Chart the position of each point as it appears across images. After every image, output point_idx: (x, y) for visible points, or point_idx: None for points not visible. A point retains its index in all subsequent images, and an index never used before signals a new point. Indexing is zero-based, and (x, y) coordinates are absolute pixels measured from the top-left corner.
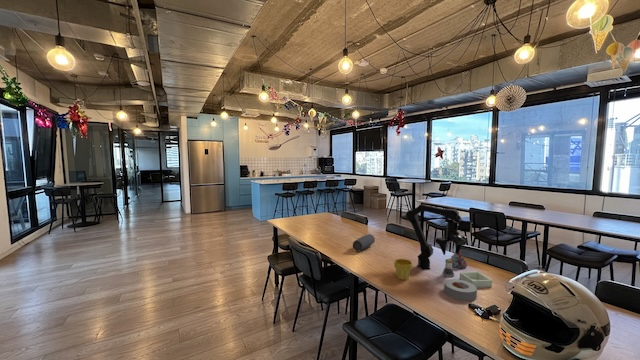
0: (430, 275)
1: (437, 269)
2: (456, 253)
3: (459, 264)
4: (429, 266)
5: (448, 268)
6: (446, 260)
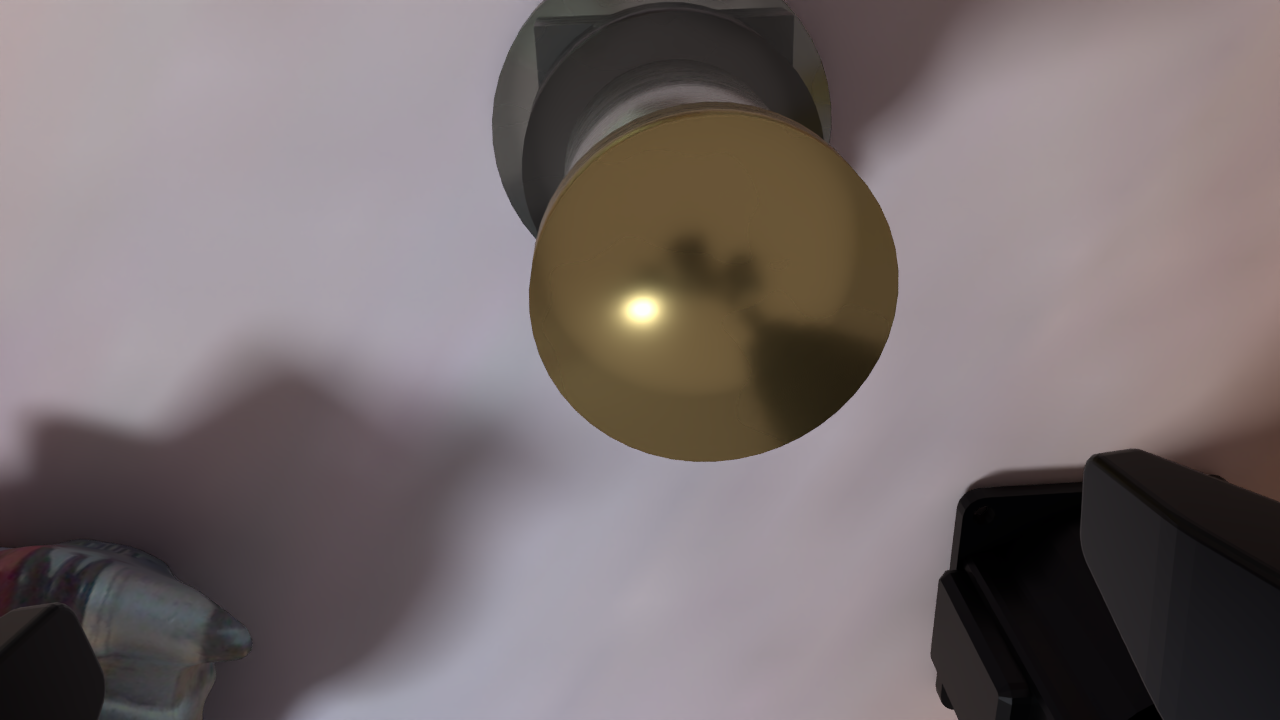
0: (1242, 103)
1: (770, 477)
2: (96, 675)
3: (55, 579)
4: (960, 579)
5: (750, 95)
6: (874, 281)
